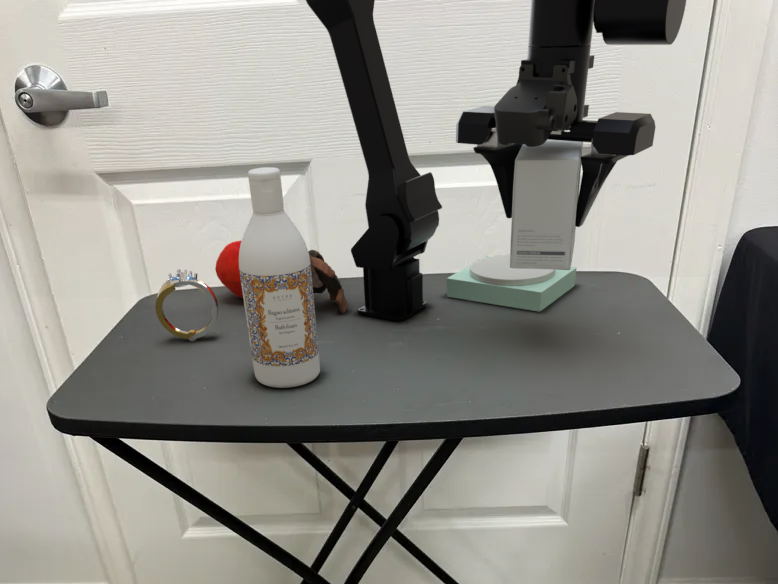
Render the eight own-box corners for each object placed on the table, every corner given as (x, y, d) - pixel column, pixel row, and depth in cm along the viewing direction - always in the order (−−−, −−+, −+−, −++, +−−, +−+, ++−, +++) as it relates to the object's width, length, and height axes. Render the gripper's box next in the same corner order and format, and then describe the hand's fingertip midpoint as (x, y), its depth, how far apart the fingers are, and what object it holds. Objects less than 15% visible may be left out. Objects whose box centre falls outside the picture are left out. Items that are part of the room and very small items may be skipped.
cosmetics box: (516, 240, 87) (523, 137, 81) (574, 242, 86) (586, 137, 80) (506, 268, 79) (513, 156, 73) (570, 271, 78) (583, 157, 72)
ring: (224, 333, 93) (212, 265, 88) (220, 342, 90) (208, 273, 86) (166, 336, 93) (152, 269, 88) (161, 346, 90) (146, 277, 86)
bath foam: (258, 393, 78) (228, 180, 67) (252, 367, 84) (222, 167, 72) (325, 384, 79) (307, 173, 68) (314, 359, 85) (295, 160, 73)
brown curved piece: (350, 325, 94) (312, 272, 89) (287, 355, 98) (248, 306, 93) (357, 271, 102) (322, 219, 97) (299, 301, 106) (262, 252, 101)
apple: (213, 307, 101) (203, 248, 97) (232, 287, 107) (223, 232, 103) (272, 307, 100) (264, 248, 95) (287, 288, 106) (281, 231, 102)
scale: (445, 296, 100) (446, 271, 98) (485, 273, 107) (485, 249, 105) (540, 312, 94) (542, 285, 92) (574, 286, 101) (577, 261, 99)
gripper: (427, 51, 71) (427, 229, 80) (626, 53, 62) (599, 253, 71) (485, 42, 78) (479, 206, 87) (670, 42, 69) (641, 225, 78)
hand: (543, 221), depth 81 cm, fingers closed on cosmetics box, 7 cm apart
